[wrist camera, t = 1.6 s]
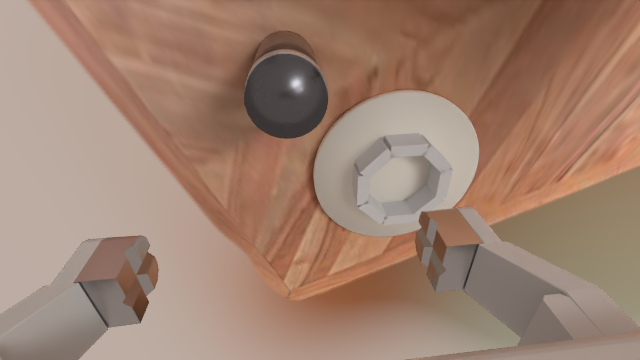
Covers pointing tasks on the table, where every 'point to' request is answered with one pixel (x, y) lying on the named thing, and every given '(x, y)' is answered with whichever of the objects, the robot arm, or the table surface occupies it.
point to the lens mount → (395, 162)
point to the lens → (285, 87)
